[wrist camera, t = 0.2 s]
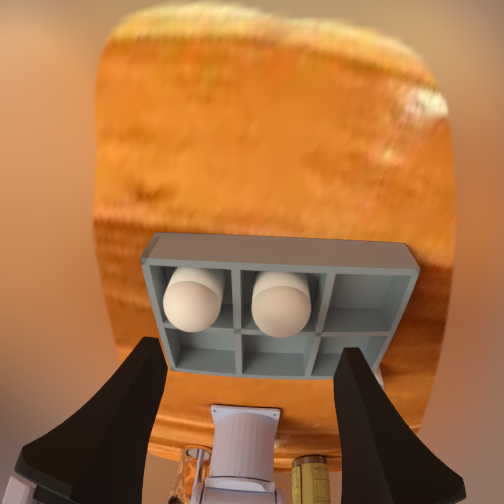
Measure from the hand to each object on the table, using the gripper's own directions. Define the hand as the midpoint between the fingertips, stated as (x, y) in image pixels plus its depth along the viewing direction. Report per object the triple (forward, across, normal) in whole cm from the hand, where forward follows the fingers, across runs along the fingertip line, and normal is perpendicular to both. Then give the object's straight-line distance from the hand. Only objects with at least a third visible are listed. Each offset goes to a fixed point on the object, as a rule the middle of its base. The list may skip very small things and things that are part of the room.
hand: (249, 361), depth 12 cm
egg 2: (+9, -2, +3) cm, 10 cm away
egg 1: (+9, +4, +3) cm, 10 cm away
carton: (+10, -2, +6) cm, 12 cm away
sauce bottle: (+10, -10, +44) cm, 46 cm away
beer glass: (+10, +9, +41) cm, 44 cm away
